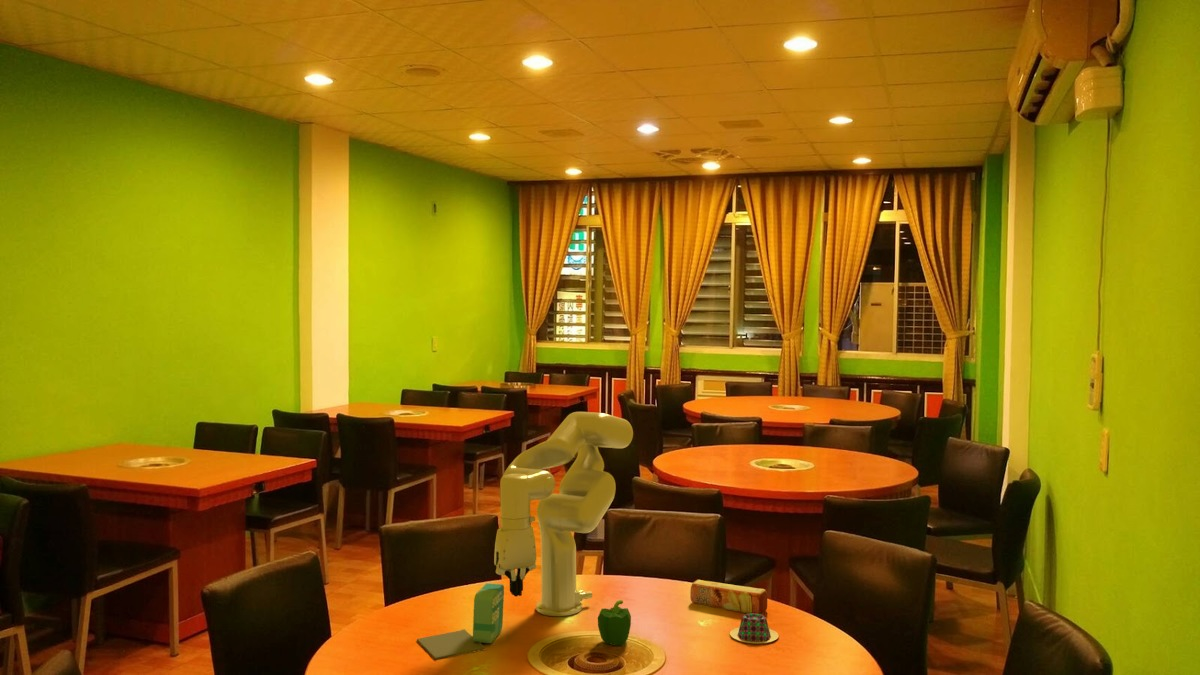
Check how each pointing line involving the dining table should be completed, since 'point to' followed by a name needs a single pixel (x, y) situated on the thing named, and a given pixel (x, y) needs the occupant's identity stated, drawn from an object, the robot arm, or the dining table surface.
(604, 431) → the robot arm
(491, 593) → the teal square box
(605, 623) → the bell pepper
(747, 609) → the snack package
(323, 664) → the dining table surface
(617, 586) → the dining table surface
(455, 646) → the mat
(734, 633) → the pudding
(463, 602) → the dining table surface
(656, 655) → the dining table surface
